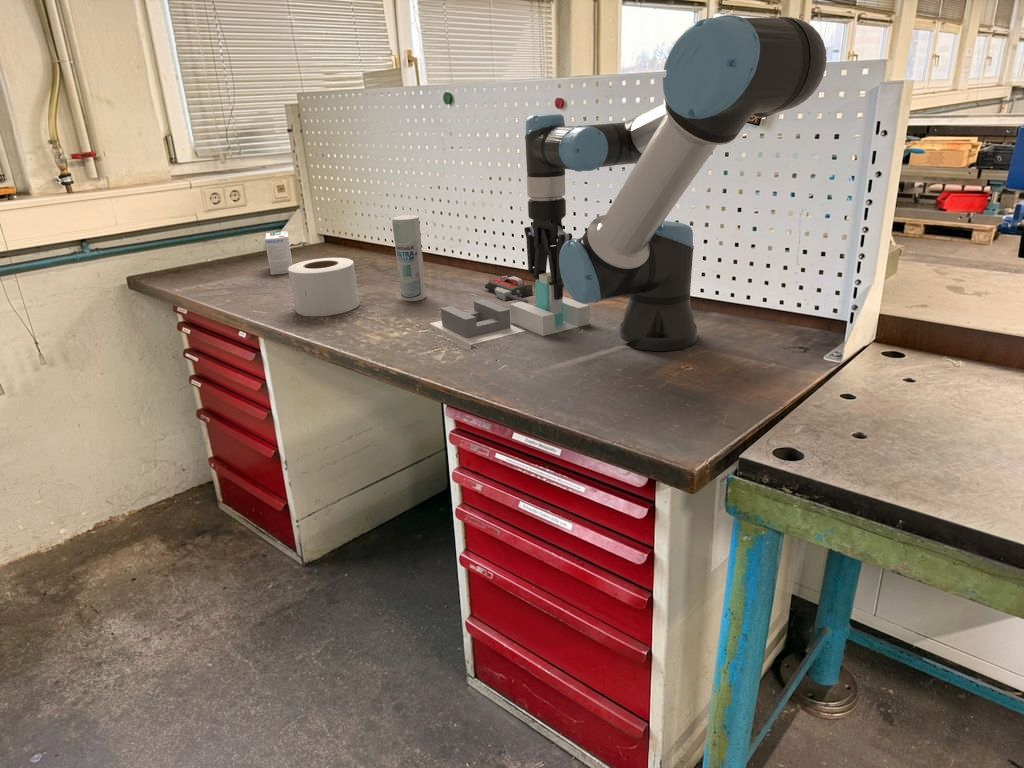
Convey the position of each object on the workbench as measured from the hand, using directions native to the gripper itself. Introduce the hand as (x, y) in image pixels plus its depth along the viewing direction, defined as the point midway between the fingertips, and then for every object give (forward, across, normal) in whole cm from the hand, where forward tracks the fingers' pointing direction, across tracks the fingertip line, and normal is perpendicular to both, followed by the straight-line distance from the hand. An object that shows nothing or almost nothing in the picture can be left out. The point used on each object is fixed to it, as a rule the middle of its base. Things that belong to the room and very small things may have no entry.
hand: (549, 310), depth 146 cm
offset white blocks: (+4, 0, 0) cm, 4 cm away
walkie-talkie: (+4, +26, -8) cm, 28 cm away
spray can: (+4, +42, +12) cm, 44 cm away
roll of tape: (+4, +49, +32) cm, 59 cm away
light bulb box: (+4, +99, +29) cm, 103 cm away
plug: (+3, 0, 0) cm, 3 cm away
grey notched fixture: (+4, +8, +14) cm, 16 cm away
